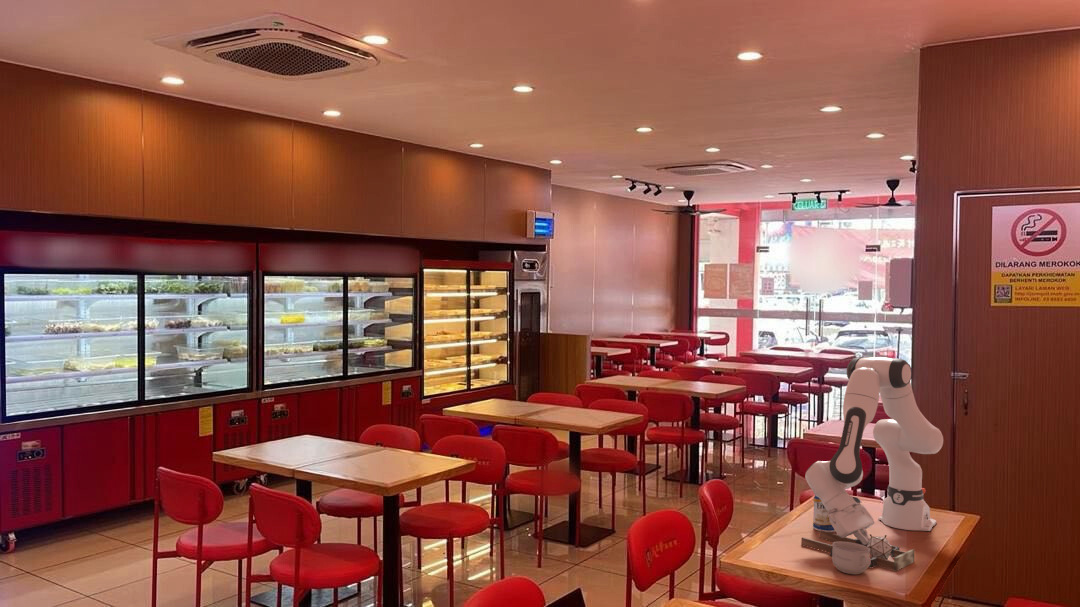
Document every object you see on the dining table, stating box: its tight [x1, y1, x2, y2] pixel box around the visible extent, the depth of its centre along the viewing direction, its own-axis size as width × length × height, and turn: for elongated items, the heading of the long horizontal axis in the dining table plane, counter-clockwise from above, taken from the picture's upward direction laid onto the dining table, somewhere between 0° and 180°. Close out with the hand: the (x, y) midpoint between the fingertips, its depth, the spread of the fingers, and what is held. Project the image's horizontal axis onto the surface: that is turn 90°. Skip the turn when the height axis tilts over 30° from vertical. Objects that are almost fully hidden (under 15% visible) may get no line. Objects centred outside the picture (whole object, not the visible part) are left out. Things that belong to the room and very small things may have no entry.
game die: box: [866, 534, 895, 560], centre depth 258 cm, size 9×8×10 cm
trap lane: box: [800, 531, 916, 572], centre depth 265 cm, size 21×32×4 cm, turn 43°
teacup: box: [831, 541, 872, 575], centre depth 246 cm, size 14×11×8 cm
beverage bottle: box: [812, 494, 836, 533], centre depth 291 cm, size 8×8×20 cm
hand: (868, 543), depth 262 cm, fingers closed, pressing on game die
